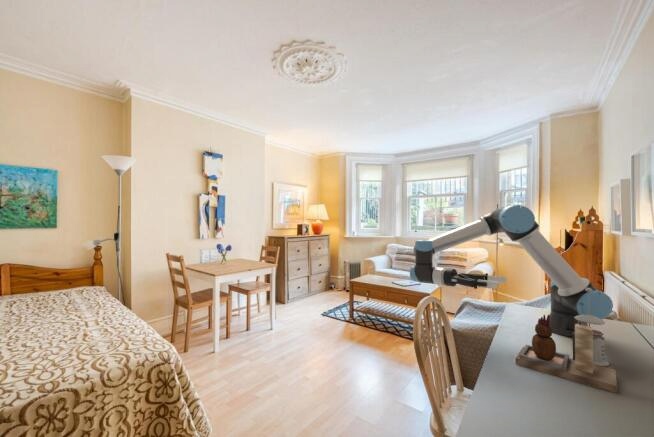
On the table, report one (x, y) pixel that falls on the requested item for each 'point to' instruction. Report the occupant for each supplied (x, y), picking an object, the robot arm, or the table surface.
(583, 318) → the french press
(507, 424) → the table surface
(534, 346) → the wooden figurine
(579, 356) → the wooden tray stand
